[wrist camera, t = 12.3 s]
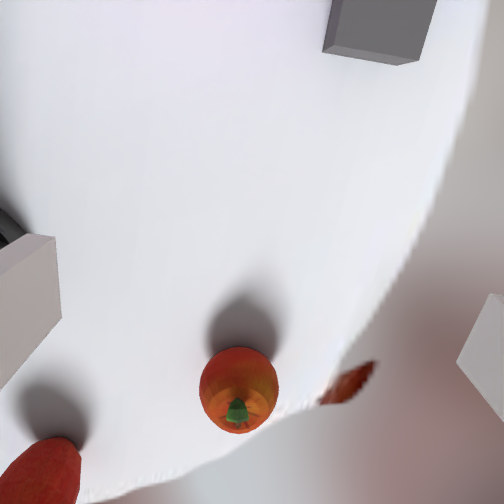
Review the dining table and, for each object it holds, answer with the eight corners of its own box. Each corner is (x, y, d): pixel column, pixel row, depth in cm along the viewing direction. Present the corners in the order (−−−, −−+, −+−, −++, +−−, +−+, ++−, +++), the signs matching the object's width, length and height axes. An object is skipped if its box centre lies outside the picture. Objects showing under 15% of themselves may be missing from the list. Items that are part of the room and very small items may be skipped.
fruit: (205, 391, 47) (195, 461, 38) (201, 334, 44) (189, 396, 34) (274, 390, 48) (281, 460, 38) (277, 333, 44) (285, 395, 35)
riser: (322, 52, 31) (333, 45, 27) (341, -45, 28) (357, -69, 24) (396, 65, 32) (418, 60, 28) (422, -29, 29) (452, -50, 25)
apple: (15, 452, 52) (-61, 567, 39) (40, 411, 48) (-33, 522, 36) (80, 477, 54) (29, 593, 42) (108, 440, 51) (62, 553, 38)
